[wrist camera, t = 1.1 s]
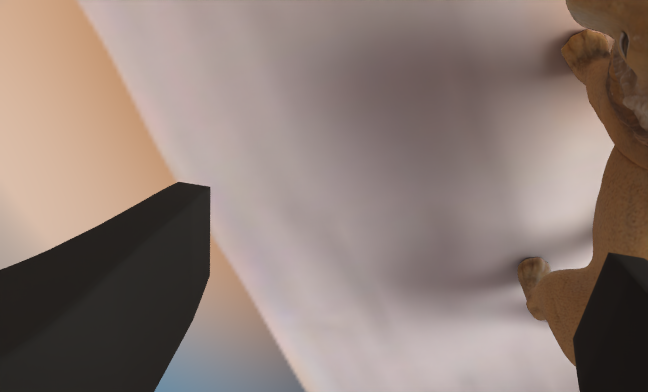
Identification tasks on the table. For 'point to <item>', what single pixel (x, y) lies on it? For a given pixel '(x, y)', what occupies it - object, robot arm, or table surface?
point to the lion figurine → (622, 166)
